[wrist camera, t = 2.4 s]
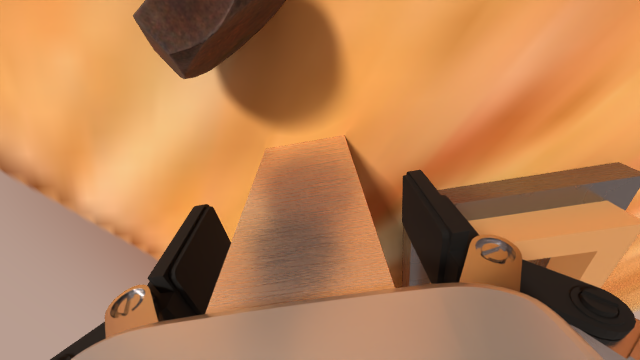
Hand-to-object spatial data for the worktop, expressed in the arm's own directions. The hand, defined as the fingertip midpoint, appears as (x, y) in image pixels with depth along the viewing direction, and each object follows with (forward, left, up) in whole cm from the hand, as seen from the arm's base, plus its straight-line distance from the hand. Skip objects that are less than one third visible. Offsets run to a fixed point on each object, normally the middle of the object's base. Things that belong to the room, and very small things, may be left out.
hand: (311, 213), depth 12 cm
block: (0, 0, -3) cm, 3 cm away
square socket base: (-12, +9, -3) cm, 15 cm away
